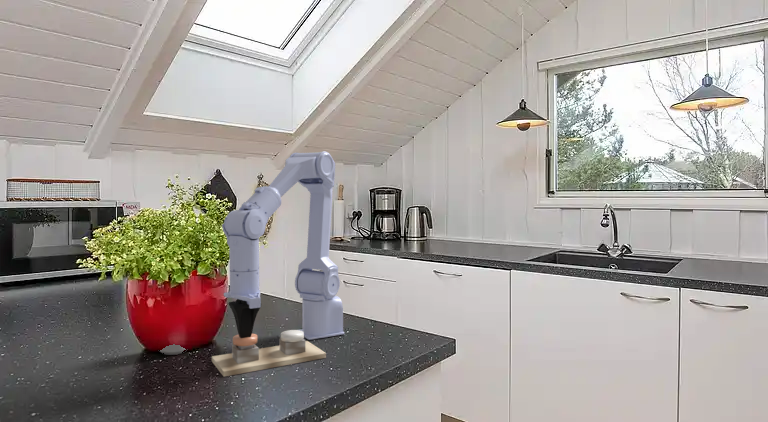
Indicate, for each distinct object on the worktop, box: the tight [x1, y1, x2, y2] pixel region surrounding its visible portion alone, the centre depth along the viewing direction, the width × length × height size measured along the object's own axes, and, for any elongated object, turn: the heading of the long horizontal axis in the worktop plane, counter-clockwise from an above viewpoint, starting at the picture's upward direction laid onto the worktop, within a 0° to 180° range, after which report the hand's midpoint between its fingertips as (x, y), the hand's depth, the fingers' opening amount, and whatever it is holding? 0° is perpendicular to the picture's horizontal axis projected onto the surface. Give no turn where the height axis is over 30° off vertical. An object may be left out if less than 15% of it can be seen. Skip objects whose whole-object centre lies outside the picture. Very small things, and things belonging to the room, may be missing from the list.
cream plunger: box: [280, 329, 305, 342], centre depth 107 cm, size 5×5×4 cm
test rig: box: [211, 337, 327, 377], centre depth 105 cm, size 21×10×4 cm, turn 121°
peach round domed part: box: [232, 332, 258, 350], centre depth 102 cm, size 5×5×4 cm
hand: (245, 336), depth 102 cm, fingers closed, pressing on peach round domed part
